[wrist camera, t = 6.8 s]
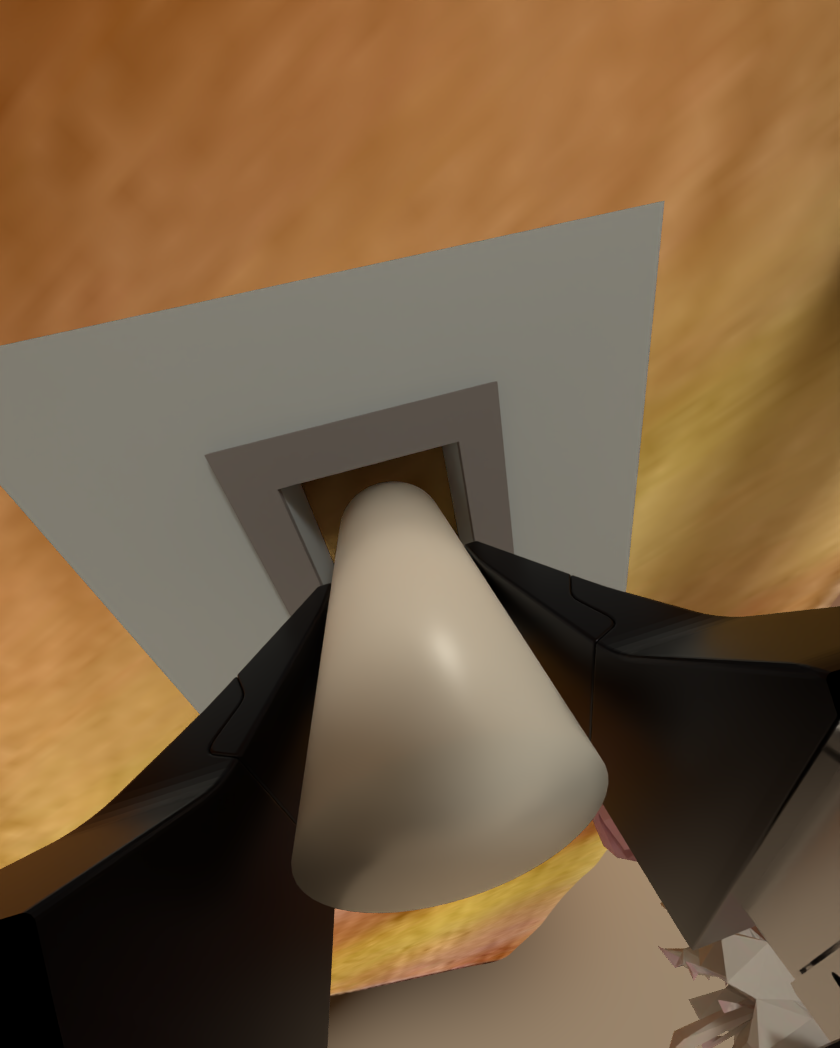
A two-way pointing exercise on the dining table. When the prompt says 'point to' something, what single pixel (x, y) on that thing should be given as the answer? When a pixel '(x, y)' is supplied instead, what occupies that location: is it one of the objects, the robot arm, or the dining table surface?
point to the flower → (734, 985)
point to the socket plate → (336, 427)
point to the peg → (430, 726)
